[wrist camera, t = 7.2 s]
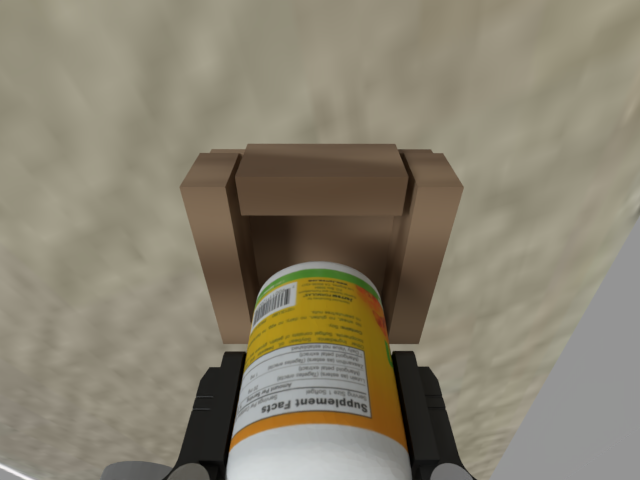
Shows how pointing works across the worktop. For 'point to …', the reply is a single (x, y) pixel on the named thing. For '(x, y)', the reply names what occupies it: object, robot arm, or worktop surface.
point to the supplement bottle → (318, 383)
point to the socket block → (322, 223)
